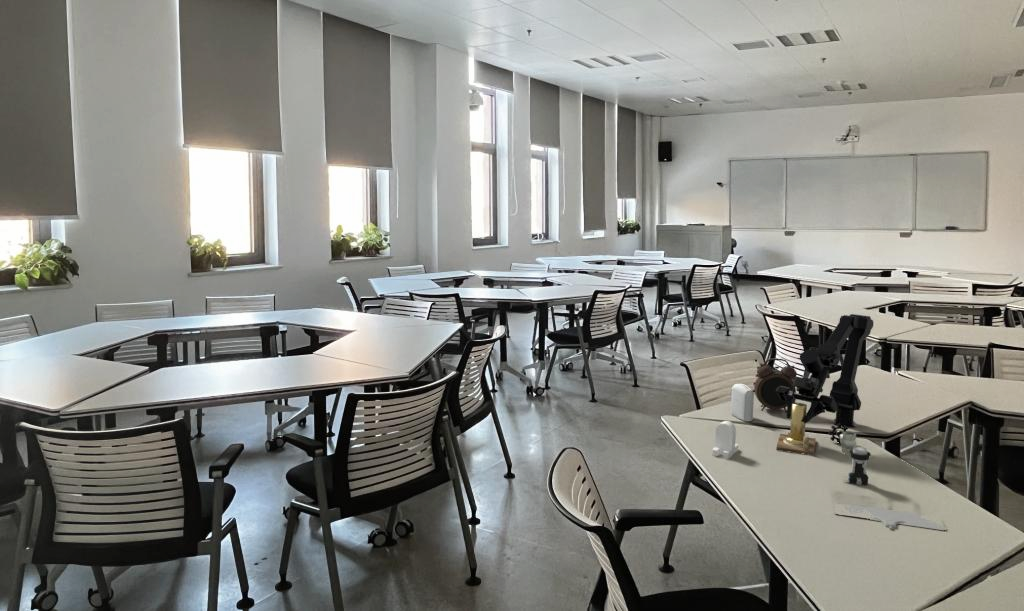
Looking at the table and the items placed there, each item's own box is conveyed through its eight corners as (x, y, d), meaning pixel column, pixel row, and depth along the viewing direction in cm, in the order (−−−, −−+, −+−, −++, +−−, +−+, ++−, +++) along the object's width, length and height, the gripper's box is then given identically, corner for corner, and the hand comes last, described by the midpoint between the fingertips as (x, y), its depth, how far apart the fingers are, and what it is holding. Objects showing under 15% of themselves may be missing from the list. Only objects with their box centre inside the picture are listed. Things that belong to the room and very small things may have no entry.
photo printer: (728, 413, 263) (730, 381, 261) (739, 413, 264) (741, 380, 262) (743, 422, 253) (745, 388, 251) (754, 421, 254) (756, 388, 252)
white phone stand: (711, 455, 221) (712, 424, 220) (722, 446, 229) (723, 416, 228) (728, 459, 218) (729, 428, 217) (738, 449, 226) (739, 419, 225)
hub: (812, 445, 226) (814, 407, 224) (790, 445, 226) (792, 407, 224) (800, 436, 235) (803, 399, 233) (779, 435, 235) (782, 399, 233)
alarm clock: (755, 412, 265) (758, 360, 262) (752, 406, 272) (755, 355, 269) (796, 414, 262) (799, 361, 259) (792, 408, 269) (795, 357, 266)
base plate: (780, 436, 238) (780, 422, 238) (815, 441, 234) (816, 426, 233) (776, 450, 226) (777, 435, 225) (813, 455, 221) (814, 440, 220)
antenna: (834, 522, 177) (835, 518, 176) (829, 489, 198) (829, 485, 198) (950, 540, 168) (950, 535, 168) (931, 502, 189) (931, 498, 189)
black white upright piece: (844, 485, 198) (847, 451, 197) (840, 478, 204) (842, 444, 202) (870, 487, 197) (873, 453, 195) (865, 480, 202) (868, 446, 200)
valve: (861, 456, 221) (848, 443, 233) (862, 436, 220) (850, 423, 231) (839, 455, 222) (827, 442, 233) (840, 435, 221) (828, 422, 232)
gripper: (780, 361, 235) (760, 400, 230) (836, 372, 221) (816, 413, 216) (790, 380, 242) (772, 418, 236) (845, 392, 228) (827, 432, 222)
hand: (795, 420), depth 227 cm, fingers open, 5 cm apart
